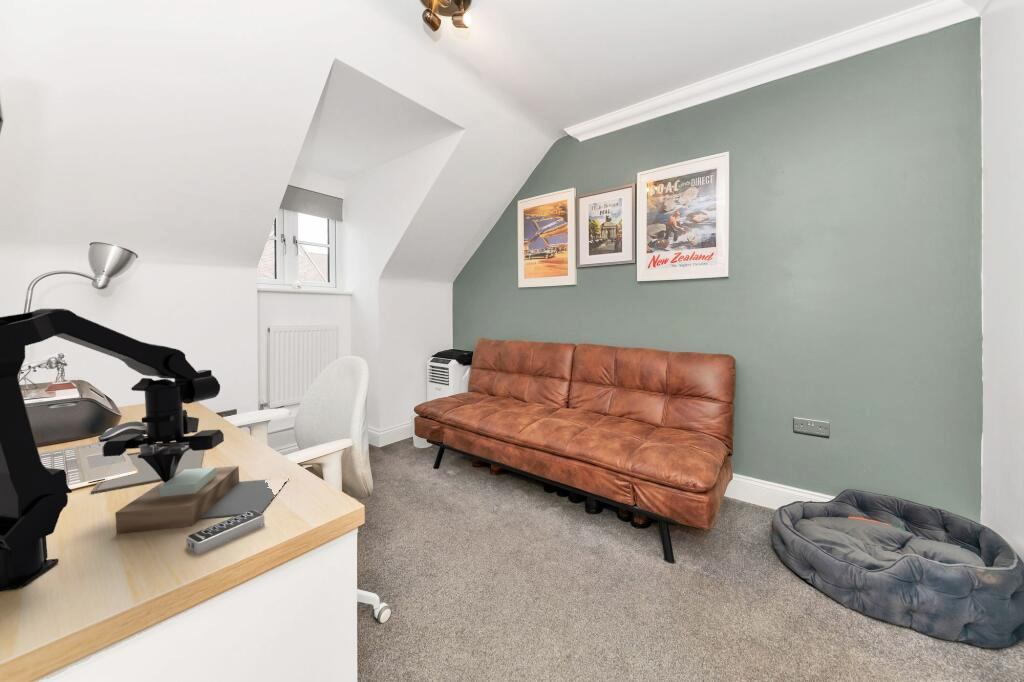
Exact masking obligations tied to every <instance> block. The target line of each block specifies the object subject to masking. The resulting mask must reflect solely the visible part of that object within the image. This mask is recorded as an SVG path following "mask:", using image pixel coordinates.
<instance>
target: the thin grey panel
mask: <svg viewBox="0 0 1024 682" xmlns="http://www.w3.org/2000/svg"><path fill="white" fill-rule="evenodd" d="M126 454H127V455H128V456H129V457H130V459H131V461H132V464H133V465H134V466H135V467H136V468H137V469H138V473H136V474H133V475H130V476H124V477H121V478H117V479H114V480H109V481H106V482H103V483H101V482H100V483H98V482H97V483H96V484H95V486H93V488H92V489H91V490H90V495H93V494H97V493H98V494H99V493H104V492H108V491H114V490H120V489H124V488H125V489H126V488H131V487H135V486H142V485H147V484H152V483H158V482H159V483H160V482H163V480H162V479H161V478H160V476H159V475H158V474H157V473H156V471H155V470H154V469H153V468H152V467H151V466H150V465H149V464H148V463H147V462H146V461H145V460H144V459H143V458H138V455H140V451H137V452H131V453H130V452H129V453H126ZM204 455H205V450H198V451H193V450H192V449H189V450H188V451H186V452H185V453H184V454H183V456H182V458H181V460H180V462H179V464H178V467H177V470H176V472H175V473H177V472H178V471H180V470H185V469H198V468H202V466H203V465H202V464H203V460H204ZM92 493H93V494H92Z"/></svg>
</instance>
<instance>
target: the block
mask: <svg viewBox="0 0 1024 682" xmlns="http://www.w3.org/2000/svg"><path fill="white" fill-rule="evenodd" d="M216 468H217V466H213V467H212V466H211V467H201V468H198V469H185V470H183V471H182V472H180V473H179V474H177V475H176V476H175V477H173V478H172V479H170V480H169V481H167V482H166V483H164V484H163V485H162V486H160V497H162V496H173V495H183V494H194V493H196V492H198V491H199V490H200V489H201V488H202V487H204V486H205V485H206V484H207V483H208V482H209V481H211V480H212V479H213V478H214V477H215V476H216Z"/></svg>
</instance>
